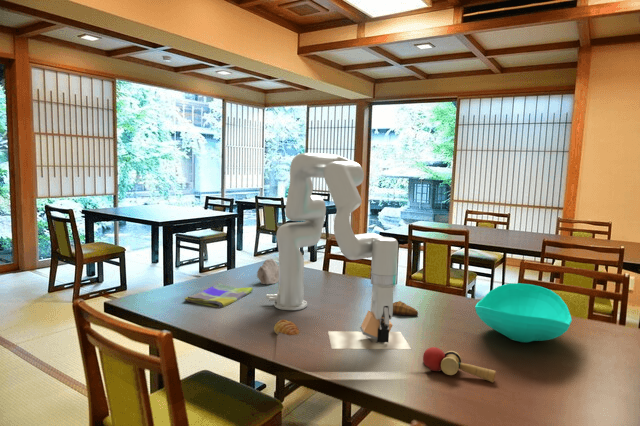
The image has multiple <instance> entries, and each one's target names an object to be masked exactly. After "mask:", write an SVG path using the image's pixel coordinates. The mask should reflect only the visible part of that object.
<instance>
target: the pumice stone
mask: <svg viewBox="0 0 640 426" xmlns="http://www.w3.org/2000/svg"><path fill="white" fill-rule="evenodd" d="M256 273H257V274H256V276H257V279H258V280H259V281H260V284H262V285H271V284H272V285H273V284H278V278H279V263H277V262H276V260H274V259H273V258H269V259H265V261H264V262H263V263H262V265H260V266H259V268H258V270H257V272H256Z"/></svg>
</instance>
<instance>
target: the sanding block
mask: <svg viewBox="0 0 640 426" xmlns="http://www.w3.org/2000/svg"><path fill="white" fill-rule="evenodd" d="M381 318H384V317H381ZM383 322H384V321H382V323H383ZM393 326H394V325H393V323H392V322H391V320H389V332H391V330H392V327H393ZM378 328H379V319H378V320H376V319H375V318H374V316H373V314H372V312H371V310H367V312H366V315H365V317H364V319H363V321H362V323H361V325H360V327H359V329H360V332H362V333H363V335H366V336H368V337H371V338H373V339H375V340H377V339H378ZM382 343H384V342H382Z"/></svg>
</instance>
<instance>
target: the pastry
mask: <svg viewBox="0 0 640 426" xmlns="http://www.w3.org/2000/svg"><path fill="white" fill-rule="evenodd" d="M273 330H274V333H275V334H276V336H279V333H281V334H285V335H287V336H288V335H289V336H296V335H297V336H298V335H299V334H300V330H299V328H298V326H297V325H296V324H295V323H294V322H293V321H288V320H287V319H280V320H279V321H276V323H275V325H274V326H273Z"/></svg>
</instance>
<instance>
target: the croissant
mask: <svg viewBox="0 0 640 426" xmlns="http://www.w3.org/2000/svg"><path fill="white" fill-rule="evenodd" d="M418 312H419V311H418V310H417V309H415V308H414V307H412V306H411V305H408V304H407V303H405V302H403V301H401V300H398V301H395V302H393V314H392V315H396V316H406V317H407V316H408V317H416V316H418V315H419V313H418Z"/></svg>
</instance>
